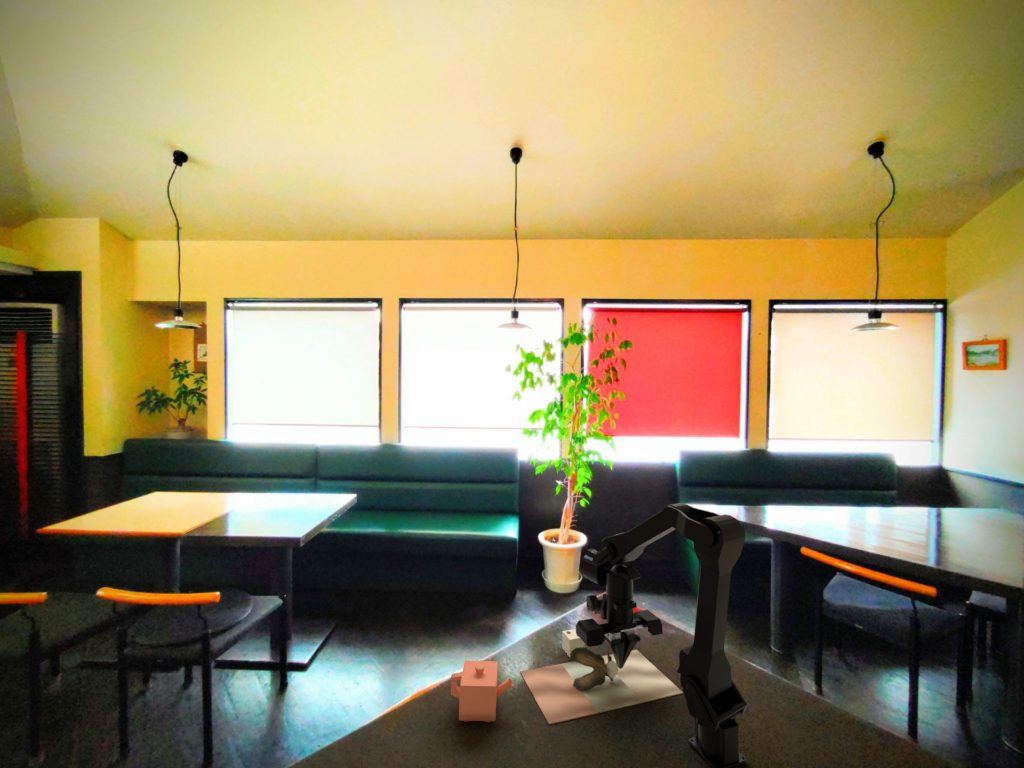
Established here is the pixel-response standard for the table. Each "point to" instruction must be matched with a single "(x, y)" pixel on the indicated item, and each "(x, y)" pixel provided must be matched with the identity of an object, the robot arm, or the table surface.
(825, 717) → the table surface
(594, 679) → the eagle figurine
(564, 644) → the die
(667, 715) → the table surface
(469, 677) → the pink cube teapot
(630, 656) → the game mat
